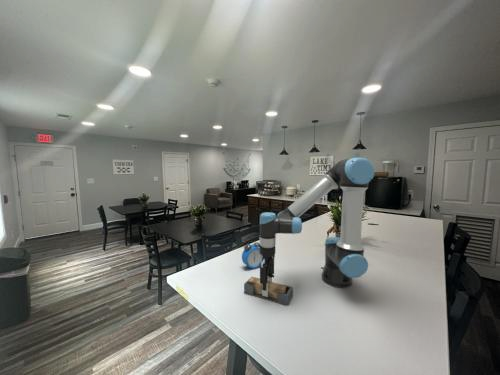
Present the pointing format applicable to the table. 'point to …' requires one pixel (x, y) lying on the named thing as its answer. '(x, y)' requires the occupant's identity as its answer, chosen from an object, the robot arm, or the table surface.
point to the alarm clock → (252, 255)
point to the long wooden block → (272, 287)
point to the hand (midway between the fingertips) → (267, 292)
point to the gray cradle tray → (280, 299)
